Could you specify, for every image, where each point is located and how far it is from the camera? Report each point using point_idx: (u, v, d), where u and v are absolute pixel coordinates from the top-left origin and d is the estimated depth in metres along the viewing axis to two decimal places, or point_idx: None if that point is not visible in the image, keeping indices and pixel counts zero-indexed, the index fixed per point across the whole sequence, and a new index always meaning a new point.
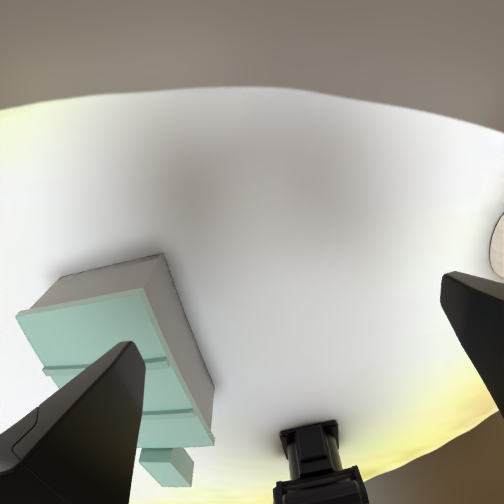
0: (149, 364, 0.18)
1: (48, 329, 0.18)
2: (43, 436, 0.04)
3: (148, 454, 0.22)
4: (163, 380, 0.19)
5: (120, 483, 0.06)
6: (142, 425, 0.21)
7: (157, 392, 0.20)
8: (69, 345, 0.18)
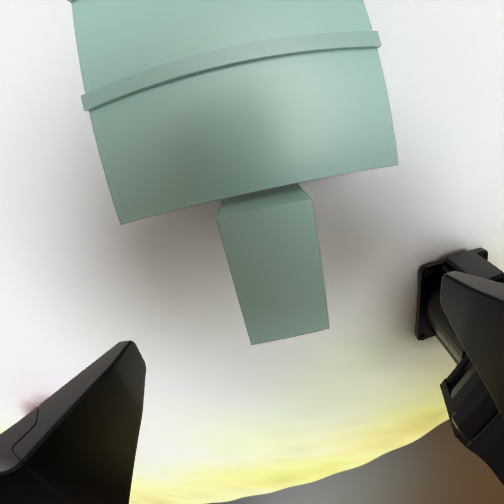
0: None
1: None
2: (43, 436, 0.04)
3: (242, 206, 0.11)
4: None
5: (120, 483, 0.06)
6: (250, 93, 0.10)
7: None
8: None
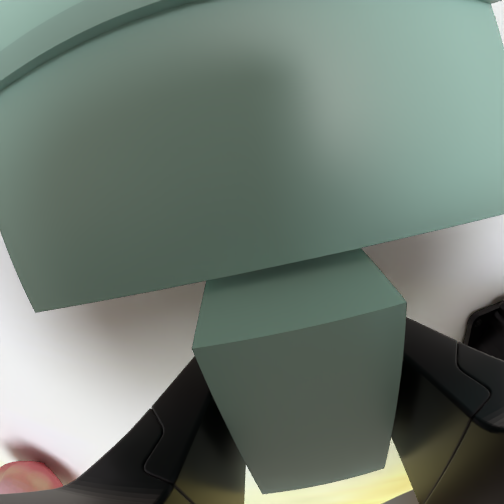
0: None
1: None
2: (185, 443, 0.04)
3: (248, 305, 0.05)
4: None
5: (239, 484, 0.05)
6: (268, 51, 0.04)
7: None
8: None
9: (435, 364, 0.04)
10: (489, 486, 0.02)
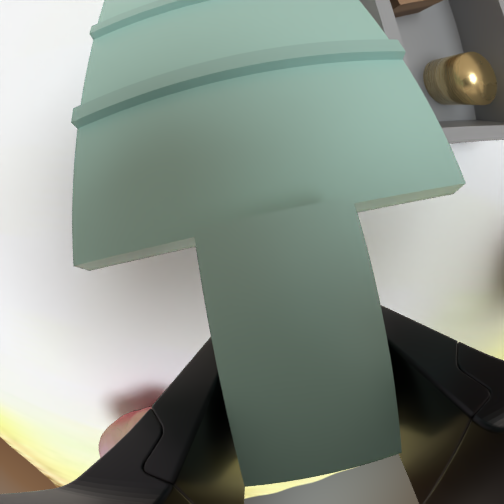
0: None
1: None
2: (184, 443, 0.04)
3: None
4: (334, 1, 0.09)
5: (239, 484, 0.05)
6: (260, 101, 0.08)
7: (322, 16, 0.09)
8: None
9: (435, 364, 0.04)
10: (489, 486, 0.02)
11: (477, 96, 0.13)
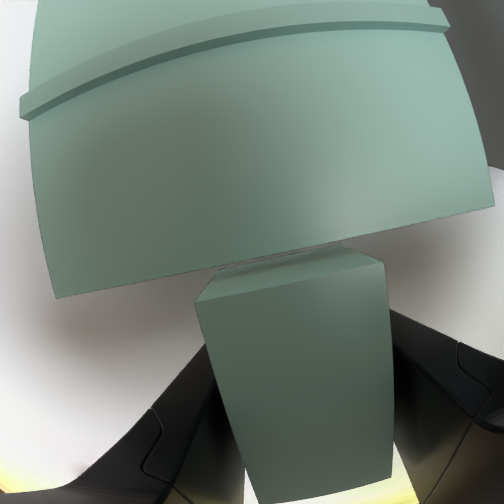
0: None
1: None
2: (184, 443, 0.04)
3: (247, 280, 0.06)
4: None
5: (238, 484, 0.05)
6: (264, 84, 0.06)
7: None
8: None
9: (436, 364, 0.04)
10: (490, 486, 0.02)
11: None
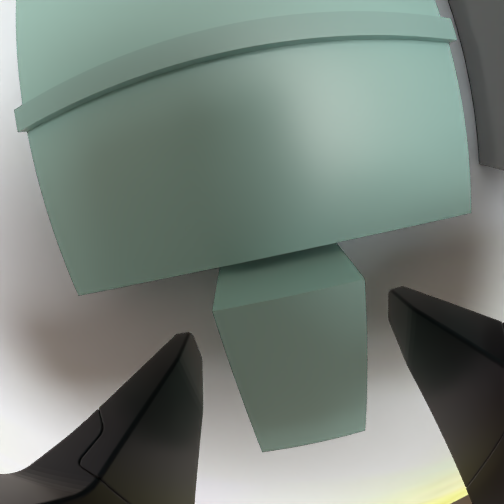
0: None
1: None
2: (118, 443, 0.04)
3: (252, 283, 0.07)
4: None
5: (187, 486, 0.05)
6: (267, 100, 0.06)
7: None
8: None
9: (488, 342, 0.04)
10: None
11: None
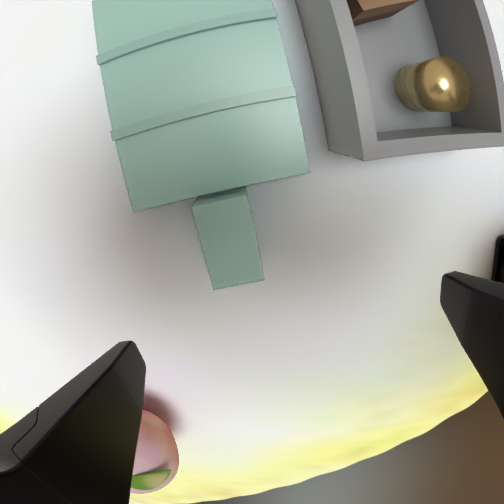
0: (254, 13, 0.14)
1: (133, 0, 0.13)
2: (43, 436, 0.04)
3: (207, 201, 0.18)
4: (263, 41, 0.15)
5: (120, 483, 0.06)
6: (212, 132, 0.17)
7: (251, 60, 0.15)
8: (154, 11, 0.14)
9: None
10: None
11: (447, 103, 0.13)
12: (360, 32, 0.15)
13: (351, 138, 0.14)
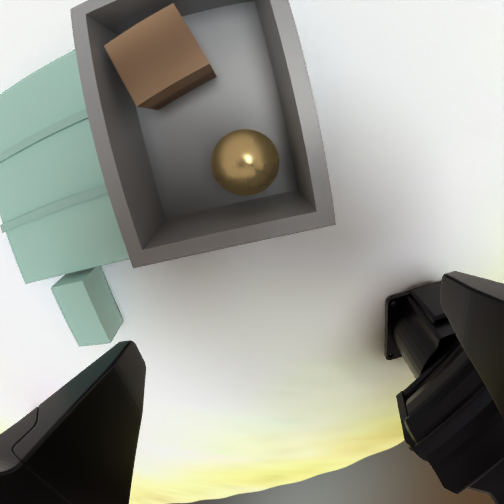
0: (76, 115, 0.16)
1: (1, 110, 0.16)
2: (43, 436, 0.04)
3: (64, 280, 0.20)
4: (87, 140, 0.17)
5: (120, 483, 0.06)
6: (61, 226, 0.19)
7: (79, 161, 0.17)
8: (14, 121, 0.16)
9: None
10: None
11: (241, 186, 0.15)
12: (179, 106, 0.17)
13: None
